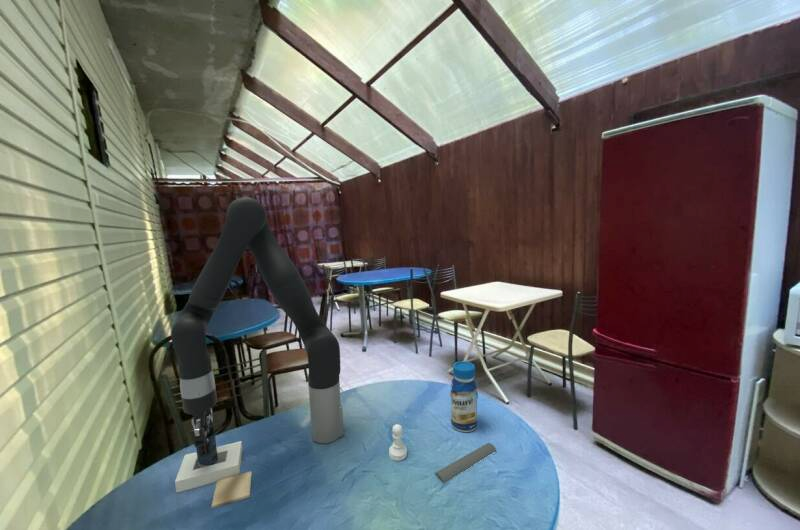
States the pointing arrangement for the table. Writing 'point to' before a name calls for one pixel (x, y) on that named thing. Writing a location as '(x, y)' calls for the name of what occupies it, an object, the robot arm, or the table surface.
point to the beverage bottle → (464, 397)
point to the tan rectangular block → (232, 489)
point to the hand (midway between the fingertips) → (206, 449)
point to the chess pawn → (397, 445)
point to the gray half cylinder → (465, 462)
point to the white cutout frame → (209, 468)
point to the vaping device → (212, 457)
